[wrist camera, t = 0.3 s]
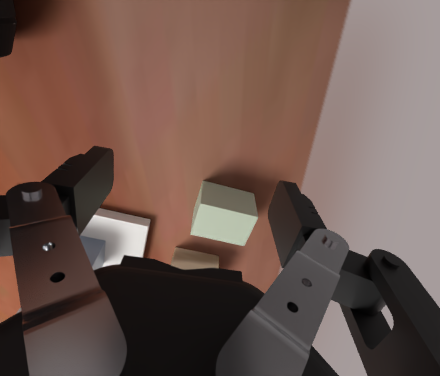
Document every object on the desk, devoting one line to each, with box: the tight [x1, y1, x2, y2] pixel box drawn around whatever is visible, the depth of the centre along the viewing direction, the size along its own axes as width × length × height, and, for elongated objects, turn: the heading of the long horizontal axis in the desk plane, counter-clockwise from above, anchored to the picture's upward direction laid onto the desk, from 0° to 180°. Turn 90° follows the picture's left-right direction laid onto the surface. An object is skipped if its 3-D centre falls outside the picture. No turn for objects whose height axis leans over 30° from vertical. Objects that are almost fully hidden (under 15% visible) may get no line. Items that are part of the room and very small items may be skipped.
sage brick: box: [190, 181, 258, 246], centre depth 33 cm, size 5×7×5 cm
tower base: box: [79, 208, 151, 270], centre depth 36 cm, size 14×18×6 cm
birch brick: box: [171, 247, 219, 270], centre depth 40 cm, size 5×7×5 cm
